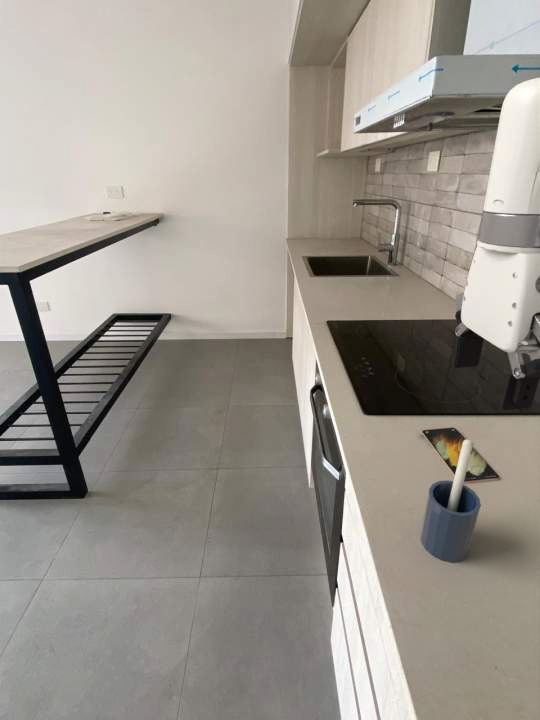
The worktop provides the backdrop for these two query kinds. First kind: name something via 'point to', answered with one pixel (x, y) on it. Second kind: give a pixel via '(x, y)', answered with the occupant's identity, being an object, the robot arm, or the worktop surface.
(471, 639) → the worktop surface
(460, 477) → the stylus
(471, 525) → the pen pot
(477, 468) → the smartphone
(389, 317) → the worktop surface
